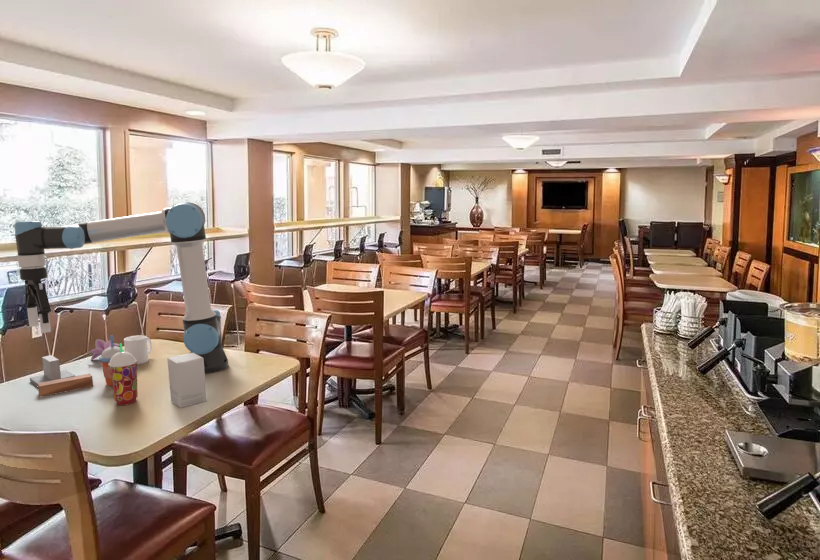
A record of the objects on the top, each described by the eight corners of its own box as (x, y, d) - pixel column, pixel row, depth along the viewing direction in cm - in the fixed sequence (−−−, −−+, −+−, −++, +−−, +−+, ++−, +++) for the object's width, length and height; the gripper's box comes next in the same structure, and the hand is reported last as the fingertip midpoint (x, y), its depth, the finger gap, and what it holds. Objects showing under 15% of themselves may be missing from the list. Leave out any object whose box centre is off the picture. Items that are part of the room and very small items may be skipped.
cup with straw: (122, 377, 210) (117, 331, 207) (135, 382, 205) (130, 334, 202) (97, 384, 203) (91, 336, 200) (109, 389, 198) (104, 340, 195)
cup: (121, 363, 227) (119, 339, 226) (144, 355, 239) (142, 332, 237) (137, 365, 225) (134, 341, 223) (159, 357, 236) (157, 334, 234)
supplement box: (207, 401, 185) (204, 357, 183) (180, 408, 180) (176, 363, 177) (197, 394, 192) (194, 351, 190) (170, 400, 186) (166, 357, 184)
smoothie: (121, 397, 190) (115, 340, 187) (145, 397, 190) (140, 340, 186) (107, 406, 182) (100, 347, 178) (132, 406, 181) (126, 346, 178)
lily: (126, 357, 240) (117, 337, 241) (122, 354, 229) (112, 332, 230) (96, 370, 235) (87, 349, 236) (91, 367, 224) (81, 345, 225)
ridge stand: (75, 379, 209) (73, 357, 208) (38, 387, 200) (35, 364, 199) (66, 373, 216) (64, 352, 214) (30, 381, 207) (27, 359, 206)
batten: (93, 386, 202) (92, 376, 201) (40, 397, 192) (39, 386, 191) (91, 383, 205) (89, 373, 204) (39, 394, 195) (37, 383, 194)
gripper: (57, 269, 182) (64, 333, 185) (35, 263, 198) (41, 321, 202) (30, 271, 176) (38, 337, 180) (9, 265, 193) (17, 325, 196)
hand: (40, 329), depth 191 cm, fingers open, 13 cm apart
